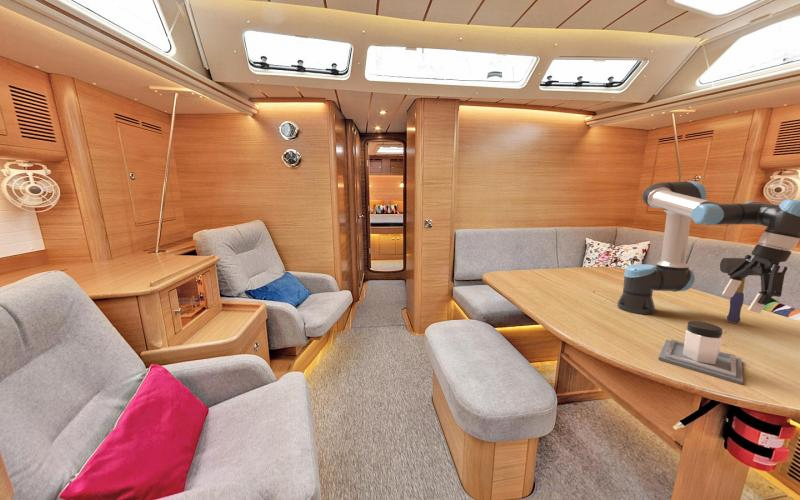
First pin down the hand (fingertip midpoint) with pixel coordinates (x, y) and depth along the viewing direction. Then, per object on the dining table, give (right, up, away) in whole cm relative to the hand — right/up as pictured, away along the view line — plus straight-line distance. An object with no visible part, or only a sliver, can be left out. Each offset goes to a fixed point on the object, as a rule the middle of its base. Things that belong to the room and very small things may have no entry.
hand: (739, 303), depth 98 cm
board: (-15, -20, -1) cm, 25 cm away
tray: (-15, -20, -1) cm, 25 cm away
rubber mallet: (+32, -15, +28) cm, 45 cm away
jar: (-15, -19, -1) cm, 24 cm away
